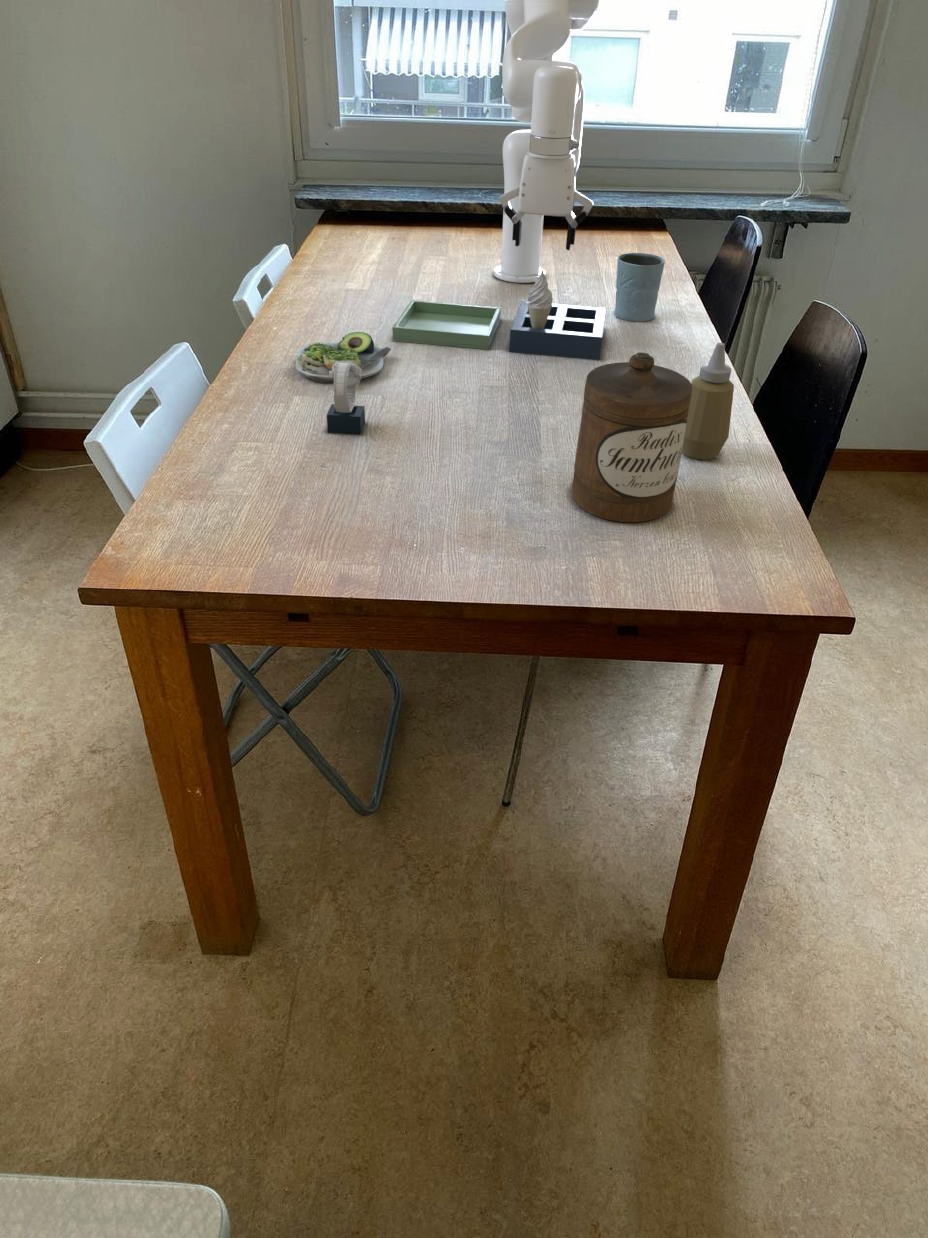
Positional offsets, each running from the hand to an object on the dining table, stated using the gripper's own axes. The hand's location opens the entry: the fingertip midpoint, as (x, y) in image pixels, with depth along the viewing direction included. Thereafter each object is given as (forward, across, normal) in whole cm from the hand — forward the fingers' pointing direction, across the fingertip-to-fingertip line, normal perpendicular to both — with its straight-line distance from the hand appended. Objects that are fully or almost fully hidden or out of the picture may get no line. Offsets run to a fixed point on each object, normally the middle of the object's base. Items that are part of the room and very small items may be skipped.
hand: (542, 246), depth 175 cm
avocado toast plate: (+20, +35, +20) cm, 45 cm away
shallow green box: (+19, +19, -4) cm, 27 cm away
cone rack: (+19, -4, -4) cm, 20 cm away
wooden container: (+20, -19, +60) cm, 66 cm away
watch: (+20, +27, +46) cm, 57 cm away
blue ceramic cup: (+19, -19, -24) cm, 36 cm away
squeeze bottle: (+20, -31, +42) cm, 56 cm away
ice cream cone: (+19, 0, 0) cm, 19 cm away
